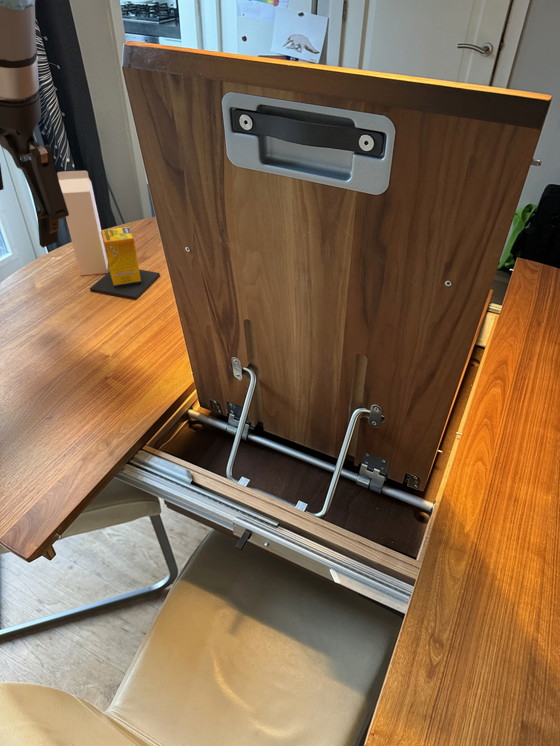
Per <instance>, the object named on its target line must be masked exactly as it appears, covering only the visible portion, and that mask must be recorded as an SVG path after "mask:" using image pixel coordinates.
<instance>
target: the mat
mask: <svg viewBox="0 0 560 746" xmlns="http://www.w3.org/2000/svg"><path fill="white" fill-rule="evenodd" d="M139 273H140V279H141V284H139V285H133V286H128V287H121V288H116V289H115V288H114V285H113V281H112V278H111V276H110V271H109V270H108V272H107V273H105V274H104V275H103V276H102V277H101V278H100V279H99V280H97V281H96V282H95V283H94V284H93V285H92V286H91V287H90V288H89V292H91V293H97V294H102V295H107V296H113V297H117V298H123V299H128V300H133V301H137V300H138V299H139V298H140V297H141V296H142V295H143V294H144V293H145V292H147V290H148V289H149V288H150V287H151V286H152V285H153V284H154V283H155V282H156V281H157V280H158V279H159V278H160V276H161V273H160V272H158V271H157V272H156V271H150V270H145V269H140V268H139Z"/></svg>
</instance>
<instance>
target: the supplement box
mask: <svg viewBox="0 0 560 746" xmlns="http://www.w3.org/2000/svg"><path fill="white" fill-rule="evenodd" d="M101 234H102V239H103V243H104V247H105V252H106V257H107V261H108V272H109V271H110V276H111V278H112V281H113V285H114V288H115V289H116V288H121V287H128V286H133V285H139V284H141V279H140V273H139V269H140V268H139V262H138V256H137V251H136V245H135V238H134V237H133V235H132V232H131V228H130V227H129V226H125V227H117V228H110V229H108V228H107V229H101Z"/></svg>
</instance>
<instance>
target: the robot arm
mask: <svg viewBox="0 0 560 746" xmlns="http://www.w3.org/2000/svg"><path fill="white" fill-rule="evenodd" d="M38 59H39V57H38V47H37V35H36V0H0V147H1V148H3V150H6V151H7V153H8V154H9V155H10V156H11V158H12V159H13V160H12V161H13V163H14V165H15V167H16V168H17V169H19V170H21V172H22V174H23V176H24V179H25V180H26V183H27V184H28V187H29V190H30V192H31V193H32V195H33V198H34V200H35V202H36V205H37V207H38V208H39V210H38V211H36V216H37V230H38V241H39V243H38V244H39V246H40V247H41V248H46V247H48V246H50V245H53V244H56V243H58V242H59V229H60V228H59V221H60V220H62V219H64V218H66V217H67V216H69V212H68V209H67V206H66V203H65V200H64V196H63V193H62V190H61V187H60V183H59V179H58V175H57V171H56V170H57V169H56V168H55V165H54V164H55V163H54V157H53V150H52V148H51V146H50V145H49V144H46V145H41V144H39V143H38V140H37V137H36V134H35V129H36V127H37V125H38V124H39V122H40V121H41V118H42V104H41V92H40V90H39V89H40V80H39V79H40V78H39V64H38ZM26 157H28V159H27V160H22V158H26ZM2 173H3V171H2V167H1V164H0V191H3V190H5V188H4V179H3V174H2Z"/></svg>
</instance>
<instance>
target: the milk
mask: <svg viewBox="0 0 560 746" xmlns="http://www.w3.org/2000/svg"><path fill="white" fill-rule="evenodd" d="M56 174H57V177H58V180H59V183H60V187H61V190H62V193H63V196H64V200H65V203H66V206H67V209H68V212H69V216H67V217H65V220H66V224H67V228H68V233H69V236H70V241H71V244H72V248H73V252H74V255H75V260H76V264H77V268H78V271H79V275H80V276H92V275H101V274H102V275H103V274H107V273H108V272H109V266H108V261H107V257H106V252H105V247H104V243H103V239H102V234H101V231H102V227H101V221H100V217H99V212H98V208H97V203H96V197H95V193H94V188H93V184H92V180H91V179H90V178H89V172H88V171H87V170H72V171H58V172H56Z"/></svg>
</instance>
